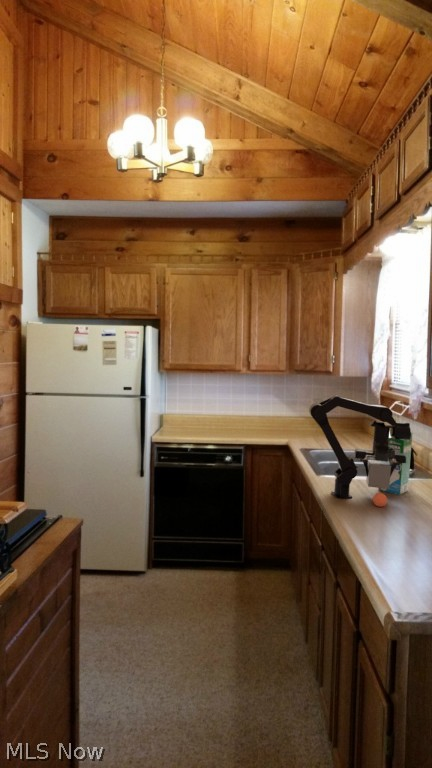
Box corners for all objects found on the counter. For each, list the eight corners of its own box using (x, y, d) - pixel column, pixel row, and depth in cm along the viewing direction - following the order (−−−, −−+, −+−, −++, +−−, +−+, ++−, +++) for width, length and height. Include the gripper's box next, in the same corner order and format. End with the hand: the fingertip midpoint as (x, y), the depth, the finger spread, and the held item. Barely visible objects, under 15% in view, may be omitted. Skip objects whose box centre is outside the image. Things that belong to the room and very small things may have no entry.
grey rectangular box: (366, 481, 185) (367, 459, 184) (386, 483, 183) (388, 461, 183) (368, 486, 177) (369, 464, 177) (389, 489, 176) (390, 466, 175)
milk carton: (378, 489, 193) (382, 431, 191) (386, 485, 200) (391, 429, 198) (399, 495, 187) (404, 434, 185) (408, 490, 194) (412, 432, 192)
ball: (370, 503, 174) (371, 491, 174) (382, 504, 175) (383, 491, 174) (376, 508, 169) (377, 495, 169) (389, 508, 170) (390, 495, 169)
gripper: (357, 439, 173) (354, 480, 174) (410, 444, 169) (406, 485, 170) (355, 434, 184) (352, 472, 185) (405, 439, 180) (401, 478, 181)
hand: (377, 477), depth 180 cm, fingers closed on grey rectangular box, 8 cm apart
